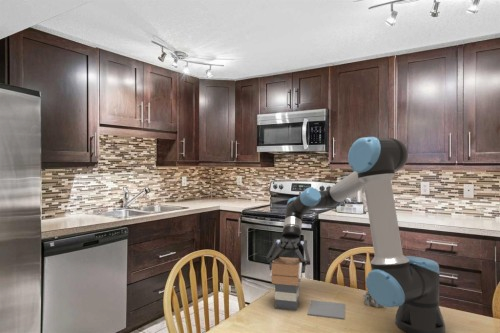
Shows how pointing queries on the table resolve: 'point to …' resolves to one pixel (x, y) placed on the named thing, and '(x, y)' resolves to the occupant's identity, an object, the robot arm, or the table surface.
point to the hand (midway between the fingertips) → (285, 278)
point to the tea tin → (286, 297)
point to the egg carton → (370, 301)
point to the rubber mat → (327, 309)
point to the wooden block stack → (286, 271)
